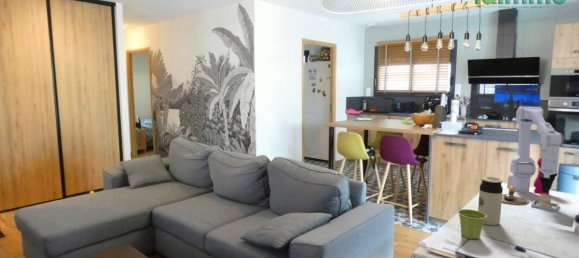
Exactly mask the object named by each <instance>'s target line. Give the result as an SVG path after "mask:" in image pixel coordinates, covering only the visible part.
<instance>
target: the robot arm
mask: <svg viewBox="0 0 579 258" xmlns="http://www.w3.org/2000/svg"><path fill="white" fill-rule="evenodd" d="M515 113H516V114H515V123H517V124H518V146H517V147H518V148H517V150H518V151H517V152H518V153H517V156H515V157H514V158H512V159H511V163H510V166H509V167H510V168H509V169H510V174H509V175H508V176H507V184H506V189H508V190H509V186H513V187H515V191H516V192H520V193H532V192H531V191H530V186H531V185H530V184H531V178H533V176H534V175H535V174H536V171H538V172H539V171H541V172H542V175H543V176H541V175H539V179H540V181H541V185H542V192H544V193H549V194H550V190H551V189H552V187H553V184H554V181H555V180H556V177H557V175H558V166H559V165H558V164H559V163H558V162H559V157H560V156H559V155H560V149H561V147H562V146H563V145H564V140H565V139H564V135H563V134H562V133H561V132H558V131H556V130H555V128H553V126H552V125H551V123H550V122H546V120H545V118H544V109H543V108H542V106H522V105H521V106H519V107H518V108H517V110H516V112H515ZM534 124H535V125H536V131H537V133H538V135H539V136H540V137H541V138H540V142H541V150H542V154H541V155H542V156H541V158H542V164H541V169H540V168H538V167H537V168H536V162H535V160H534V159H533V158H532V157H530V156H531V155H530V154H531V153H530V152H531V151H530V150H531V131H532V130H531V127H532V125H534ZM536 169H537V170H536ZM532 194H533V193H532Z"/></svg>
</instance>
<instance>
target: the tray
mask: <svg viewBox="0 0 579 258" xmlns="http://www.w3.org/2000/svg"><path fill="white" fill-rule="evenodd" d="M535 203H538V205H539V199H534V200H533V201H532V203H531V204H530V205H531V206H530V207H531V208H535V209H539V210H544V211H545V210H546V211H551V212H555V213H557V212H558V209H559V207H560V204H559V203H557V202H551V206H554V207H555V208H553V207H550V208H549V207H543V206H538V205H537V204H535Z"/></svg>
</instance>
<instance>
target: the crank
mask: <svg viewBox="0 0 579 258" xmlns="http://www.w3.org/2000/svg"><path fill="white" fill-rule="evenodd" d="M515 193H516V192H515V187H513V186H509V189H508V194H507V193H506V194H505V195H504V199H506V200H514V196H515Z"/></svg>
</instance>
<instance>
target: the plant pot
mask: <svg viewBox="0 0 579 258" xmlns="http://www.w3.org/2000/svg"><path fill="white" fill-rule="evenodd" d="M457 214H458V216H459V221H460V222H459V223H460V234H461V236H462V237H463V238H465V239H468V240H475V239H476V240H478V238H479V239H480V237H481V234H482V231H483V230H482V229H483V226H484V224H483V223H484V221H485V218H486V217H487V215H486V214H484V213H482V212H479V211H478V210H475V209H468V208H465V209H463V208H462V209H459V210H457Z"/></svg>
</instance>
